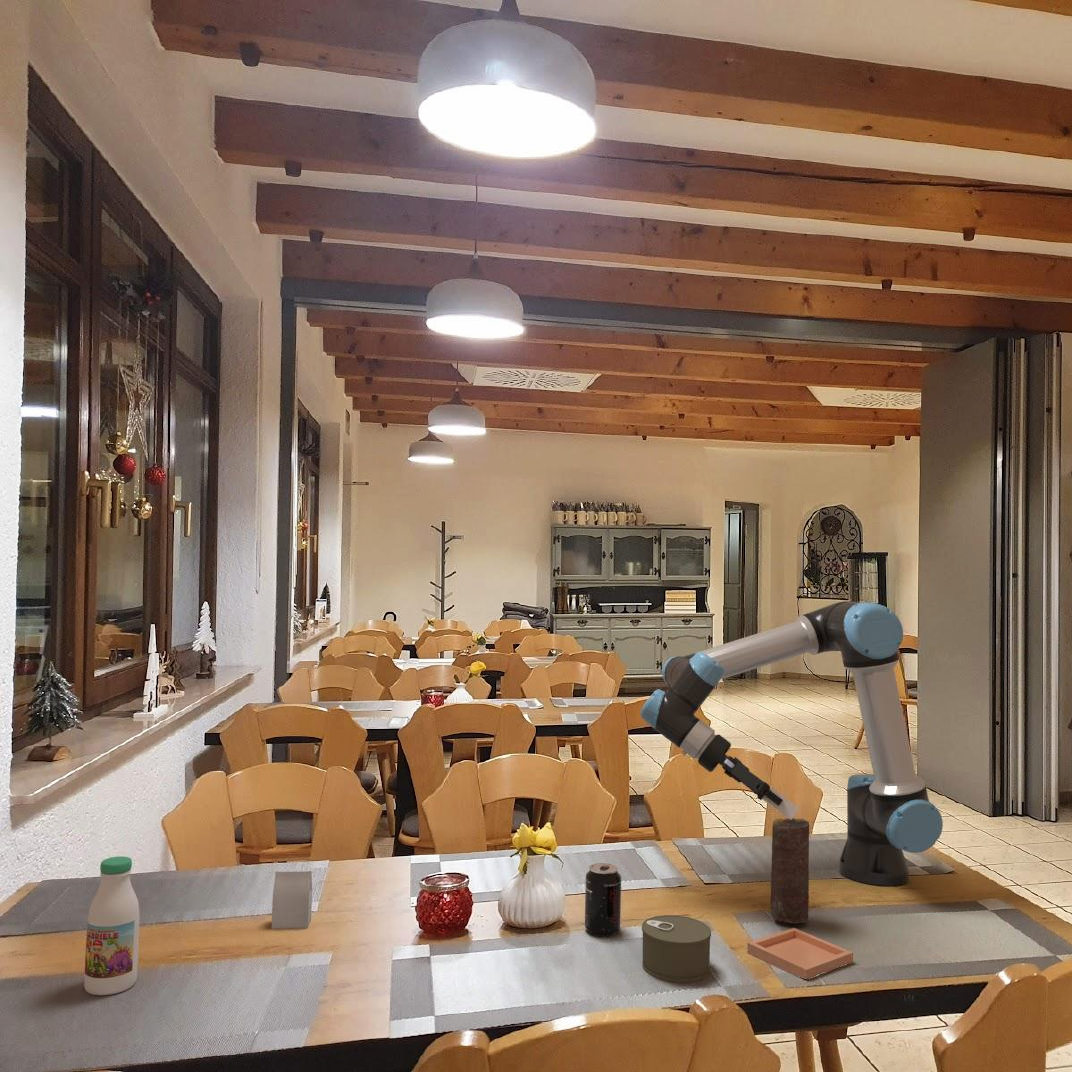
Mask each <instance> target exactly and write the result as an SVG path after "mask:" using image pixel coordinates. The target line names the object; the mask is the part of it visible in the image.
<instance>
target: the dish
mask: <svg viewBox="0 0 1072 1072" xmlns="http://www.w3.org/2000/svg"><path fill="white" fill-rule="evenodd" d="M746 948H747V954H749V955H751V956H752V957H753V956H754V957H756V958H758V959H759V960H762V961H764V962H766V963H768V964H770V965H773V966H774V967H776V968H779V969H781V970H783V971H785V972H787V973H789V972H791V973H792V975H793V974H795V975H797V976H796V977H798V976H800V977H801V978H800V977H799V978H800V979H802V978H804V979H809V978H811V977H814V976H816V975H818V974H821V973H823V972H827V971H830V972H832V971H831V970H833V969H835V968H837V967H840V966H842V965H845V964H849V965H851V964H853V963H854V952H852V951H850V950H848V949H845V948H843V947H841V946H838V945H836V944H833V943H831V942H829V941H826V940H824V939H822V938H819V937H817V936H815V935H812V934H810V933H807V932H805V931H802V930H800V929H798V928H795V927H792V928H789V929H787V930H783V931H782V930H781V931H779V932H777V933H774V934H770V935H768V936H764V937H761V938H758V939H755V940H752V941H749V942H747V947H746ZM850 963H851V964H850ZM833 971H834V970H833ZM791 973H790V974H791ZM795 975H794V976H795ZM804 979H803V980H804ZM809 980H810V979H809Z"/></svg>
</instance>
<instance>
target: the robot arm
mask: <svg viewBox="0 0 1072 1072" xmlns="http://www.w3.org/2000/svg"><path fill="white" fill-rule="evenodd" d="M903 637H904V629H903V625H902V623H901V620H900V619H899V617H898V616H897V614H896V613H895V612H894V611H893V610H891V609H890V608H888V607H887V606H885V605H883V604H882V605H881V604H879V603H876V602H872V601H848V600H847V601H845V600H844V601H838V602H835V603H832V604H830V605H826V606H823V607H821V608H818V609H816V610H813V611H810V612H807V613H805V614H801V615H799V616H797V619H796V621H794V622H789V623H787V624H784V625H781V626H777V627H774V628H771V629H768V630H765V631H762V632H761V631H760V632H758V633H755V634H752V635H748V636H745V637H742V638H739V639H736V640H733V641H732V640H731V641H729V642H727V643H723V644H720V645H716V646H713V647H710V648H707V649H704V650H700V651H698V652H695V653H690V654H687V655H685V656H680V655H677V656H672V657H670V658H668V659H667V660H666V661H665V662H664V664H663V666H662V669H661V676H662V679H663V681H664V682H665V684H667V686H668V687H669V688H668V689H667V690H666V691H663V690H661V689H656V690H654V691H653V693H652V694H651V695H650V696H649V697H648V698H647V700H646V702H645V703H644V704H643V706H642V708H641V709H640V716H641V717H640V718H641V719H642V720H643V721H644V722H646V723H647V724H648V725H649V726H650V727H651V728H653V729H654V730H655V731H656V732H658V733H659V734H660V735H662V737H664V738H665V739H667V740H668V741H669V742H671V743H672V744H673V745H675V746H676V747H678V748H679V749H680V750H682V751H681V754H682V756H686V755H688V757H690V758H691V759H693V760H696V759H697V763H698V765H700V766H701V767H703V768H704V769H705V770H706V771H708V772H709V773H711V772H713V771H714V770H715V769H716V768H717V767H718V765H720V766H721V768H722V769H723V770H724V771H723V773H724V774H725V775H726V776H728V777H729V778H732V779H734V781H736V782H737V783H739V784H740V783H742V785H744V786H746V788H748V789H749V790H750V791H752V793H754V795H757V797H756V798H757V799H758V800H759V801H762V800H763V802H765V803H767V804H768V806H771V807H772V808H773V809H774V810H776V812H778V813H779V814H780V815H782V816H783V817H785V819H788V818H789V819H790V820H792V818H794V817H795V815H796V814H797V813H798V811H799V810H800V808H799V807H798V806H796V805H795V803H792V802H791V801H789V800H788V799H787V798H786V797H785V796H783V795H782V794H781V793H780V792H778V791H777V790H776V789H775V788H773V787H770V784H768V783H767V782H766V781H763V780H762V779H761V778H759V777H758V776H757V775H755V774H754V773H752V772H751V771H750V768H749V767H747V766H746V765H745V764H743V762H742V761H741V760H740V759H739V758H737V757H736V756H734V757H732V756H731V755H727V753H728V751H729V750H730V748H731V747H732V743H731V742H730V741H729V740H728V739H726V738H725V737H723V736H722V735H721V734H715V733H716V731H715V729H713V728H712V727H711V726H709V725H708V724H707V723H705V722H704V721H703V720H702V719H700V718H699V717H697V716H696V715H695V714H696V712H697V711H698V710H699V708H700V707H701V706H702V705H703V703H704V702H705V701H706V699H707V698H708V697H709V696H710V695H711V693H712V692H713V690H714V689H715V688H716V687H717V686H718V685H719V682H720V681H721V680H723V679H726V678H729V677H733V676H736V675H739V674H743V673H746V672H749V671H752V670H755V669H758V668H763V667H765V666H768V665H771V664H775V663H778V662H781V661H785V660H788V659H790V658H794V657H797V656H801V655H803V654H806V653H808V654H810V655H812V656H816V655H818V654H822V653H826V652H827V653H828V652H840V653H841V659H842V663H843V667H844V669H846V671H849V672H850V673H851V674H852V676H853V680H854V687H855V691H856V695H857V700H858V704H859V710H860V714H861V715H860V716H861V721H862V725H863V731H864V734H865V739H866V745H867V748H868V753H869V758H870V763H871V769H872V774H870V773H869V774H868V773H864V774H863V773H862V774H861V773H858V774H852V775H850V776H849V777H848V779H847V787H846V800H847V802H846V803H847V806H846V807H847V808H846V809H847V811H846V812H847V819H846V820H847V821H846V823H847V833H846V834H847V835H846V836H847V837H846V841H845V844H844V847H843V849H842V852H841V855H840V858H839V862H838V863H839V865H838V866H839V867H838V869H839V871H838V872H839V873H840V872H841V873H840V874H841V875H842V874H843V875H842V876H844V877H846V878H847V879H850V880H853V881H856V882H859V883H864V884H868V885H872V886H873V885H874V886H875V885H876V886H885V887H886V886H900V885H905V884H906V883H908V882H909V881H910V880H909V876H910V875H909V867H908V864H907V861H906V858H905V855H904V852H907V853H913V854H915V853H917V854H918V853H924V852H926V851H927V850H929V849H931V848H932V847H933V846H934V845H936V842H937V841H938V840H939V839H940V837H941V834H942V832H943V827H944V825H943V817H942V814H941V813H940V811H939V809H938V808H937V807H936V805H934V803H932V802H931V801H930V799H929V795H928V789H927V785H926V782H925V780H923V779H922V778H920V777H918V776H917V775H916V770H915V769H916V768H915V765H914V759H913V755H912V750H911V747H910V746H911V745H910V740H909V736H908V731H907V725H906V722H905V716H904V712H903V707H902V703H901V697H900V692H899V688H898V683H897V677H896V673H895V667H896V665H897V664H898V663H899V661H900V655H899V651H898V650H899V649H900V645H901V644H902V643H903V639H904V638H903ZM903 851H904V852H903Z"/></svg>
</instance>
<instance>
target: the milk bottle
mask: <svg viewBox="0 0 1072 1072" xmlns="http://www.w3.org/2000/svg"><path fill="white" fill-rule="evenodd" d="M132 864H133V861H132V858H131V857H129V856H119V855H118V856H113V857H108V858H104V859H103V860H102V861H101V862H100V866H99V867H100V868H99V869H100V874H99V875H100V877H101V881H100V884H99V887H98V890H97V892H96V894H95V896H94V898H93V900H92V902H91V904H90V906H89V907H90V908H89V911H88V915H87V923H86V925H87V926H86V938H85V939H86V941H85V958H84V959H85V960H84V976H83V977H84V979H83V982H84V986H83V987H84V989H85V992H87V993H88V994H90V995H94V996H107V995H108V996H109V995H114V994H115V995H116V994H119V993H121V992H124V991H126V990H129V989H130V988H132V987H133V986H134V985H135V983H136V981H137V979H138V966H139V963H138V962H139V939H140V904H139V900H138V898H137V894H136V892H135V890H134V888H133V885H132V882H131V878H130V874H131V873H132V866H133V865H132Z"/></svg>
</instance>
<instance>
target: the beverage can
mask: <svg viewBox="0 0 1072 1072" xmlns="http://www.w3.org/2000/svg"><path fill="white" fill-rule="evenodd" d="M588 869H589V870H588V871H587V872H586V874H585V886H584V887H585V890H584V891H585V894H584V898H585V899H584V927H585V929H586V930H587V931H588V932H590V934H592V935H594V936H597V937H610V936H613V935H615V934H616V933H618V932H619V931H620V930H621V915H622V914H621V912H622V911H621V909H622V907H621V906H622V905H621V904H622V875H621V873H619V867H618V866H617V865H615V864H612V863H606V862H605V863H604V862H599V863H598V862H597V863H593V864H590V865H589V867H588Z"/></svg>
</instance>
